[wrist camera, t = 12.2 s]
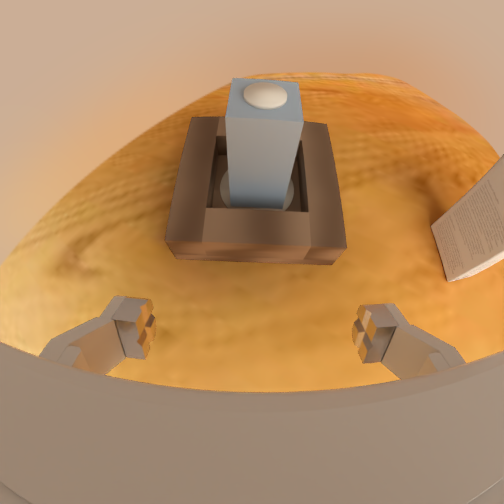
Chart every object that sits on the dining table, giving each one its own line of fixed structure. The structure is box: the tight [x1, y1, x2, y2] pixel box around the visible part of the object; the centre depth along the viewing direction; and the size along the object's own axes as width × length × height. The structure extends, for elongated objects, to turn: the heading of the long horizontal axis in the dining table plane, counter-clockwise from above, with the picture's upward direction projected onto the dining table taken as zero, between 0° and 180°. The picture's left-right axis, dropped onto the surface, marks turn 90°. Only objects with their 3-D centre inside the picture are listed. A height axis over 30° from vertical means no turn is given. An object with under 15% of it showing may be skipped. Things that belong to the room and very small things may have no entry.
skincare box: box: [431, 154, 504, 282], centre depth 16 cm, size 6×4×12 cm
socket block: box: [165, 117, 347, 265], centre depth 21 cm, size 12×12×4 cm
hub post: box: [225, 78, 304, 209], centre depth 17 cm, size 4×4×9 cm
